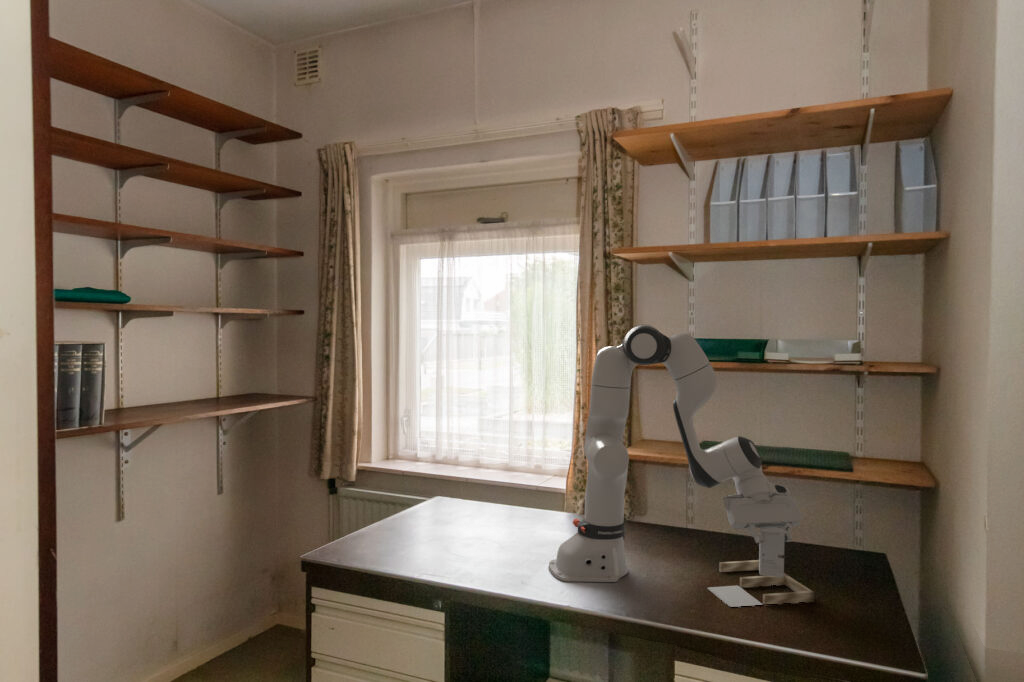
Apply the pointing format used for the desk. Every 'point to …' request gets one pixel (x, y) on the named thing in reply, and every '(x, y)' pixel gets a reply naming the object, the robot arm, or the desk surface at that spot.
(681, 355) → the robot arm
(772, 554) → the skincare box
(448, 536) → the desk surface
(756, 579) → the lane rack
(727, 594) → the grey mat
